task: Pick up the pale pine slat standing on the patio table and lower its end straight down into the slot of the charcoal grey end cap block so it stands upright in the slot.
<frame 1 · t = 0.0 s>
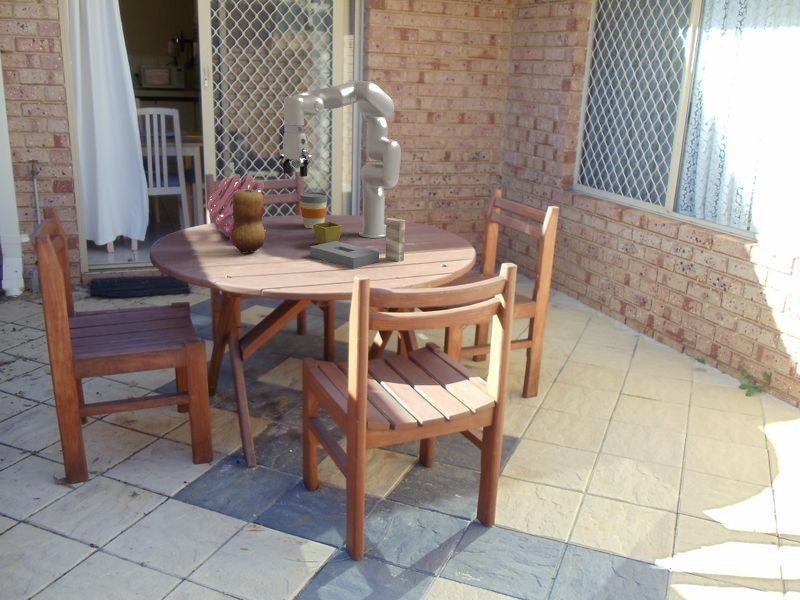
hand: (295, 174, 285), 31 cm above the table, tool pointing down, fingers open, 9 cm apart
pine slat: (394, 259, 289), on the table
reusable coffee cup: (314, 227, 340), on the table
end cap: (344, 259, 287), on the table
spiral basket: (238, 236, 318), on the table
butternut squash: (248, 252, 294), on the table
flower pot: (327, 246, 307), on the table
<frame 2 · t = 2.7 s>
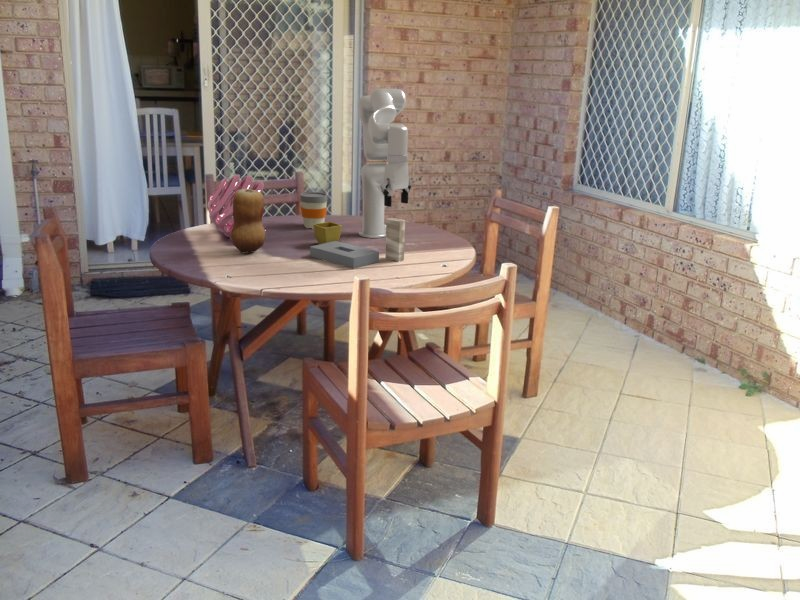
hand: (396, 204, 281), 22 cm above the table, tool pointing down, fingers open, 9 cm apart
nothing on the table moved.
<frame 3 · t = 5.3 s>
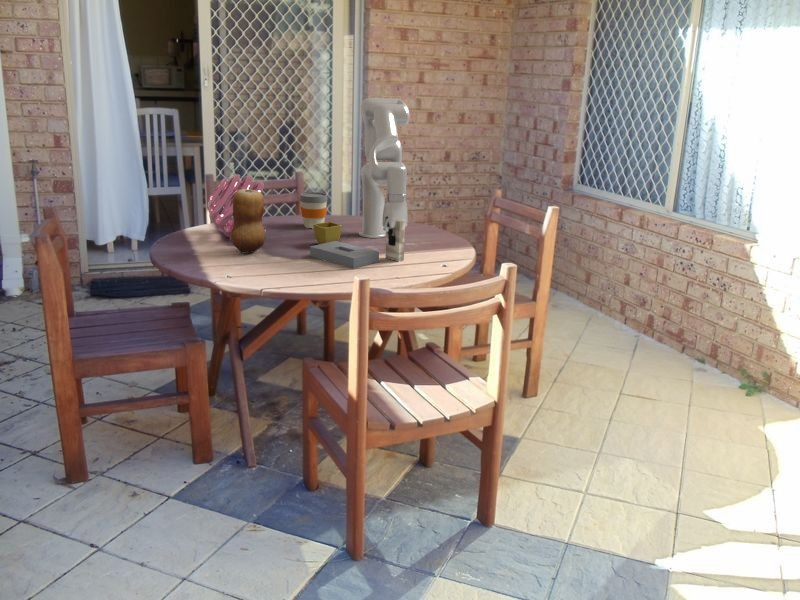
hand: (395, 244, 287), 6 cm above the table, tool pointing down, fingers closed on pine slat, 3 cm apart
pine slat: (394, 259, 289), on the table, touching gripper
everything else where it was.
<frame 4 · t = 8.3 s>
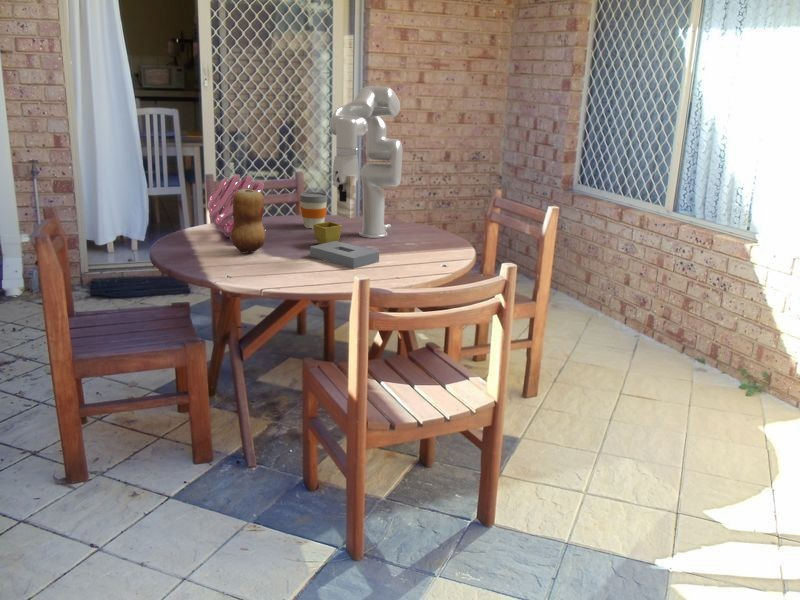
hand: (346, 200, 280), 23 cm above the table, tool pointing down, fingers closed on pine slat, 3 cm apart
pine slat: (346, 216, 282), point 17 cm above the table, touching gripper
everything else where it was.
when the fingers open (7 cm above the table, at t = 11.4 s): pine slat stays where it is, resting in end cap.
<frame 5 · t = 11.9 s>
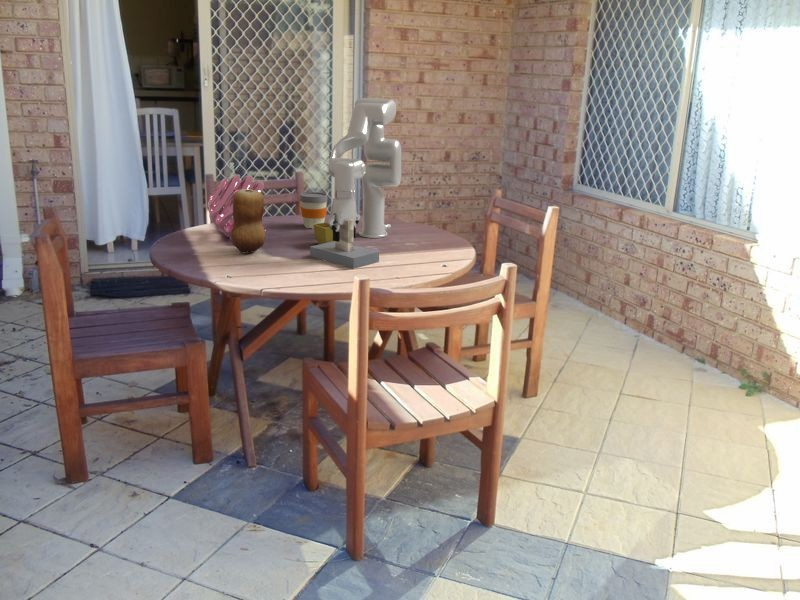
hand: (344, 239, 285), 8 cm above the table, tool pointing down, fingers open, 8 cm apart
pine slat: (344, 259, 287), resting in end cap
everything else where it was.
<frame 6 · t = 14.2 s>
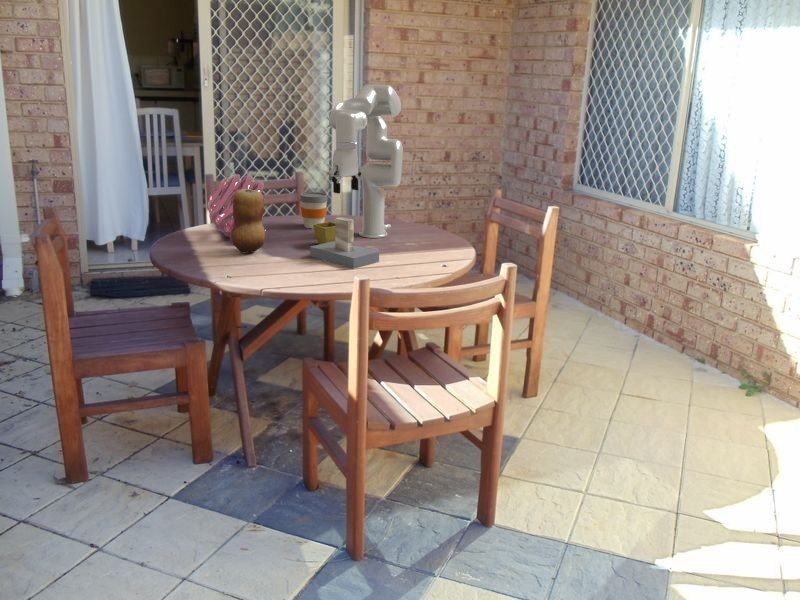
hand: (345, 191, 281), 26 cm above the table, tool pointing down, fingers open, 9 cm apart
nothing on the table moved.
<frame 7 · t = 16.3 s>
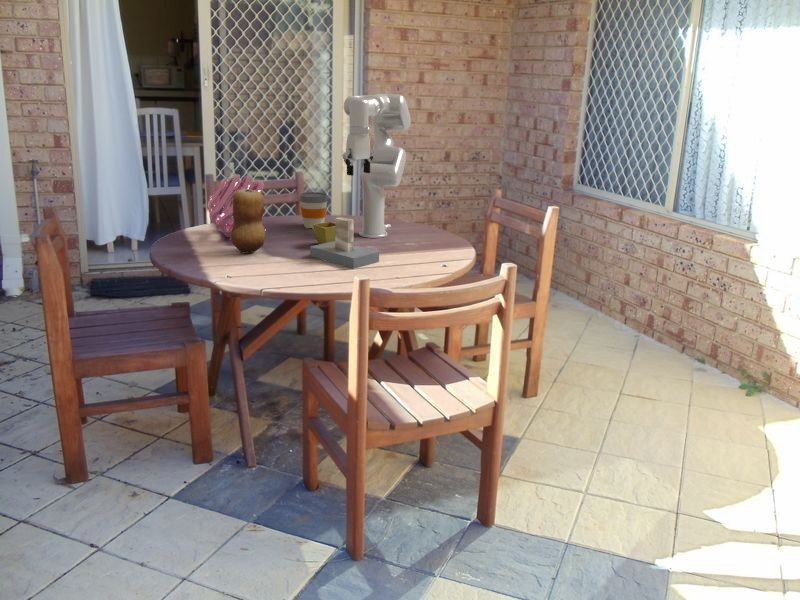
hand: (358, 173, 297), 30 cm above the table, tool pointing down, fingers open, 9 cm apart
nothing on the table moved.
at the end: pine slat 0.0 cm off-centre on the end cap, point 0.0 cm above the end cap's base; pine slat tilted 0°; the gripper is holding nothing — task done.
